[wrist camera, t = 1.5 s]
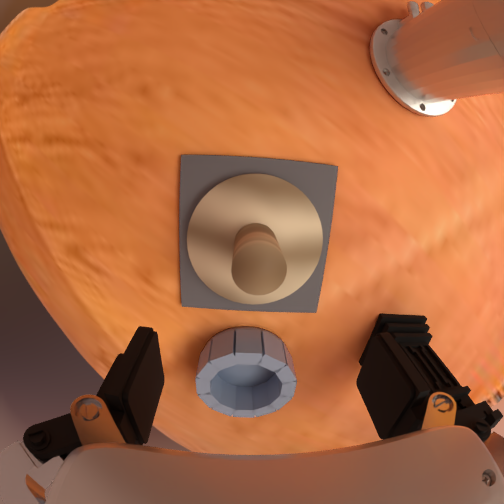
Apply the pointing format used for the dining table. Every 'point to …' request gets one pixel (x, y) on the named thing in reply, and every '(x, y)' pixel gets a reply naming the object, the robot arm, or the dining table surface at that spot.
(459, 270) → the dining table surface
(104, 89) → the dining table surface
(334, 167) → the rubber mat
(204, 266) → the lid
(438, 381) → the chess piece
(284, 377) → the bowl
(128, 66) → the dining table surface
